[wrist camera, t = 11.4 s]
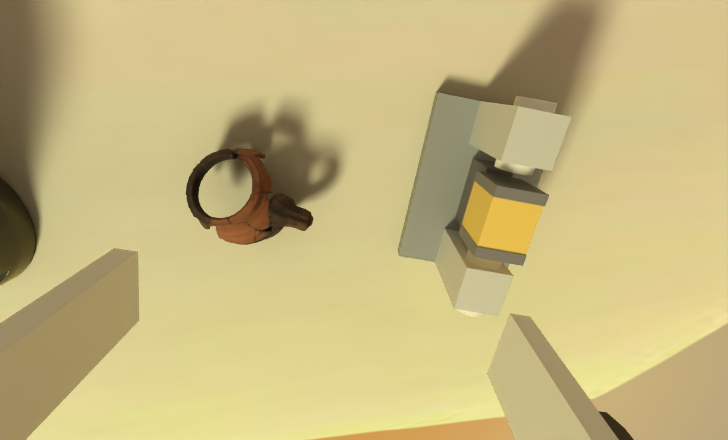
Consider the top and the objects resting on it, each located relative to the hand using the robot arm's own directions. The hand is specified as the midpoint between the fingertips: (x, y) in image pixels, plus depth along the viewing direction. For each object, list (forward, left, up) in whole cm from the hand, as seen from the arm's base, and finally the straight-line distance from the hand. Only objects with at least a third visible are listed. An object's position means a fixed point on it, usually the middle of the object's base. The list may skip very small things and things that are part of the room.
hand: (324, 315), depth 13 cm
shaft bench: (+13, 0, -27) cm, 30 cm away
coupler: (+13, 0, -21) cm, 24 cm away
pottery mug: (-8, -5, -27) cm, 29 cm away
